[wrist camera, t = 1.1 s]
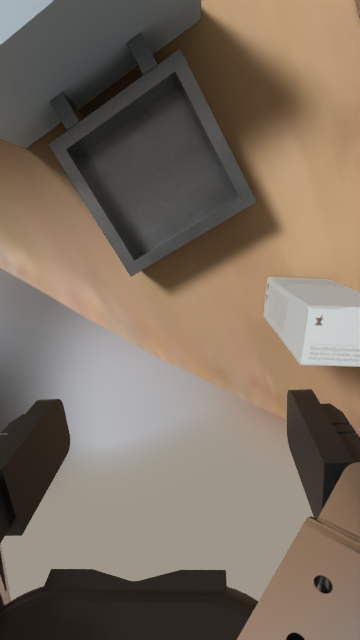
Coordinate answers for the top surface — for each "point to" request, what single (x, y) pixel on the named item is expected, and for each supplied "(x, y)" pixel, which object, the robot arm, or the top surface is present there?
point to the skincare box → (315, 320)
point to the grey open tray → (151, 161)
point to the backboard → (73, 53)
